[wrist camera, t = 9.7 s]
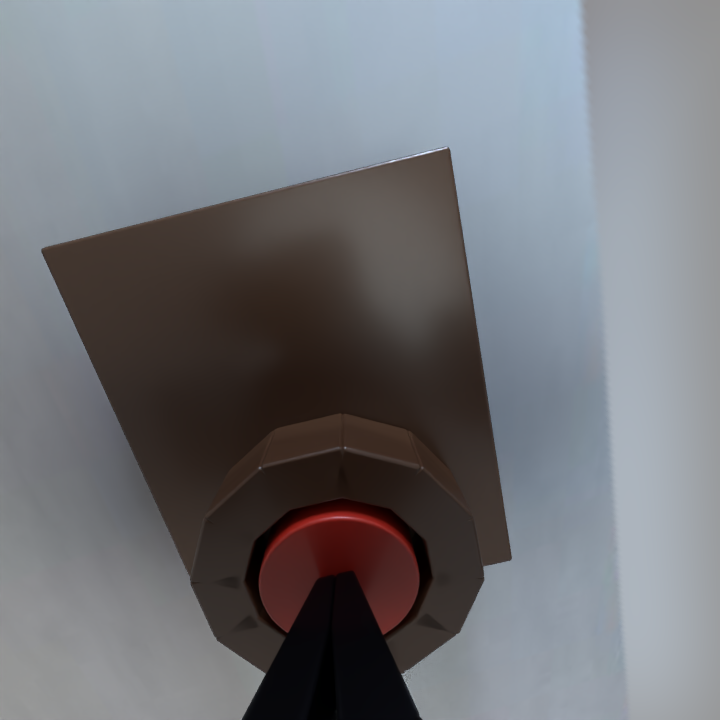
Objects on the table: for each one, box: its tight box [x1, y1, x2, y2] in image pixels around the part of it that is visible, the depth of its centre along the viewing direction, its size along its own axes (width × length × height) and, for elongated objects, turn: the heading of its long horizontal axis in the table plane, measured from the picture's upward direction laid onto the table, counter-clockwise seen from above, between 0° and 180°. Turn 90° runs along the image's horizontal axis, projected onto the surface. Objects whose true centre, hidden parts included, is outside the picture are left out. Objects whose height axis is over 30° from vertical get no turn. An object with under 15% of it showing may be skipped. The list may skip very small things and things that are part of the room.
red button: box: [259, 498, 420, 635], centre depth 9 cm, size 4×4×2 cm
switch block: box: [41, 147, 512, 674], centre depth 10 cm, size 12×9×4 cm
